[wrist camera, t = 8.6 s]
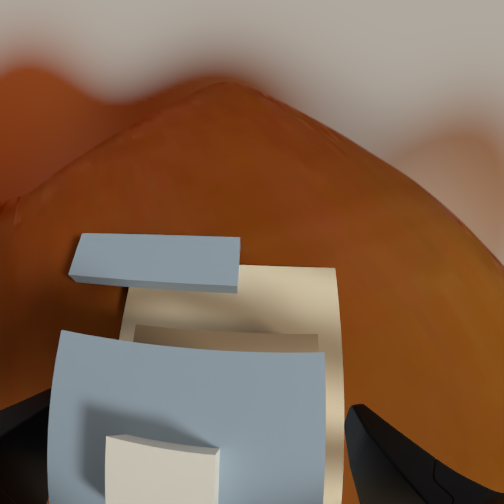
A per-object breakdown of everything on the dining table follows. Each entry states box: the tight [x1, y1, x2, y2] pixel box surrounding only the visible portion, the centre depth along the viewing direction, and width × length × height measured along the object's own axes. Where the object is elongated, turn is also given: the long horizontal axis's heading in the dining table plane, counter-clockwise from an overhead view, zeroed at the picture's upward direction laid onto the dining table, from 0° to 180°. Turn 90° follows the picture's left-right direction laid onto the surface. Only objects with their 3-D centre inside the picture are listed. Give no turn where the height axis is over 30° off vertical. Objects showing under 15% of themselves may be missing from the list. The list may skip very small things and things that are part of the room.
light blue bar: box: [68, 233, 240, 294], centre depth 19 cm, size 12×4×1 cm, turn 88°
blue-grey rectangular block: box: [47, 330, 326, 504], centre depth 8 cm, size 5×5×13 cm
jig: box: [119, 265, 344, 504], centre depth 13 cm, size 22×14×4 cm, turn 178°
